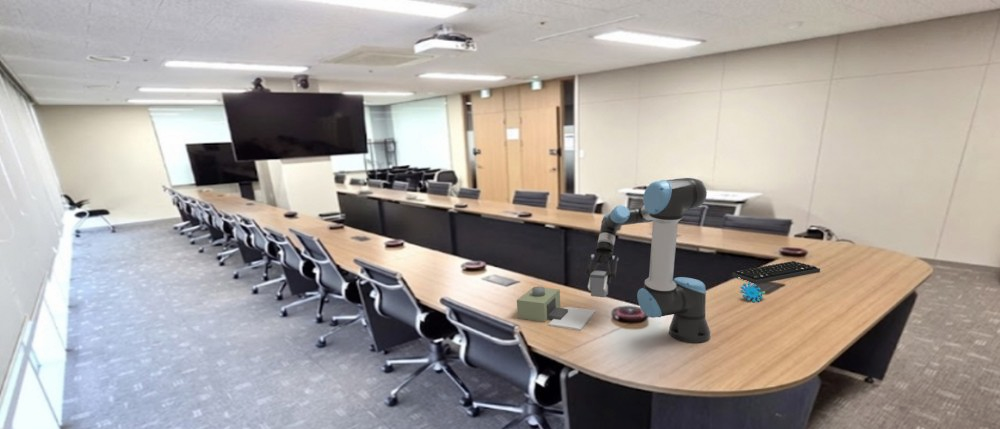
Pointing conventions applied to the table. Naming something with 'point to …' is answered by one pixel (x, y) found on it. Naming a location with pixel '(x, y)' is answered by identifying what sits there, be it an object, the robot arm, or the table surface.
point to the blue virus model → (751, 292)
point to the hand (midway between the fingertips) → (597, 289)
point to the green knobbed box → (551, 309)
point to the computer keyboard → (775, 272)
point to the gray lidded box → (598, 283)
